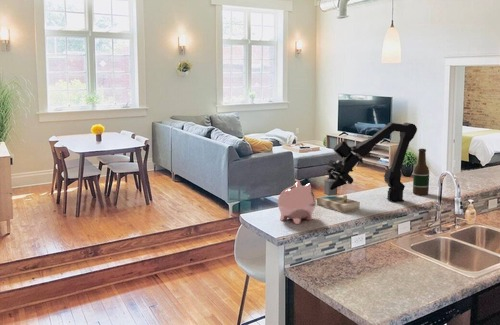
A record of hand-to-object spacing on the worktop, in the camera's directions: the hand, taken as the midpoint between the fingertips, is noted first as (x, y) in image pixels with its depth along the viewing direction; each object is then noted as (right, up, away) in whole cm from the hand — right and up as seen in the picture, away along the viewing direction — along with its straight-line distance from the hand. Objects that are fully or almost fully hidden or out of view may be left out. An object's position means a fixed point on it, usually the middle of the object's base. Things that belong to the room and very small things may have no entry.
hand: (328, 188), depth 232 cm
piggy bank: (-17, -13, -20) cm, 29 cm away
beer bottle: (+52, -4, +19) cm, 55 cm away
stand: (+4, -9, -2) cm, 10 cm away
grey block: (+1, -3, +1) cm, 3 cm away
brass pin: (+7, -6, -7) cm, 12 cm away
